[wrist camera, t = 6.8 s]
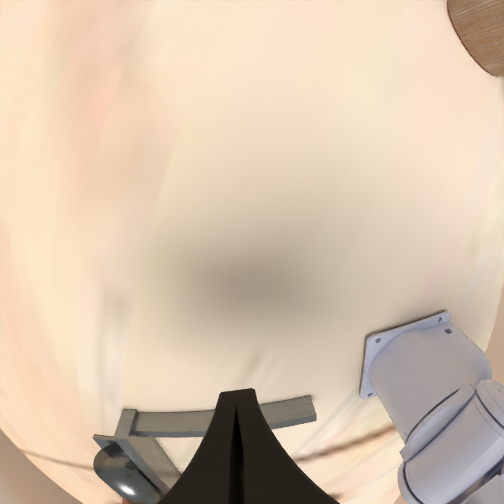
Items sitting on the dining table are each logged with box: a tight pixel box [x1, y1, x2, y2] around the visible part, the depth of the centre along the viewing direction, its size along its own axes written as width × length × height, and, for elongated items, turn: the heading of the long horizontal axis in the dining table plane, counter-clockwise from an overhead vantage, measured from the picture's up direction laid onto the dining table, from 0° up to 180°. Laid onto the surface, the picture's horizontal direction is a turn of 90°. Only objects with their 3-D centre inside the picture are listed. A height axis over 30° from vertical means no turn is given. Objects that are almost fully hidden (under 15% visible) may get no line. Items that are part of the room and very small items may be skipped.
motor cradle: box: [93, 396, 316, 504], centre depth 24 cm, size 26×25×6 cm
